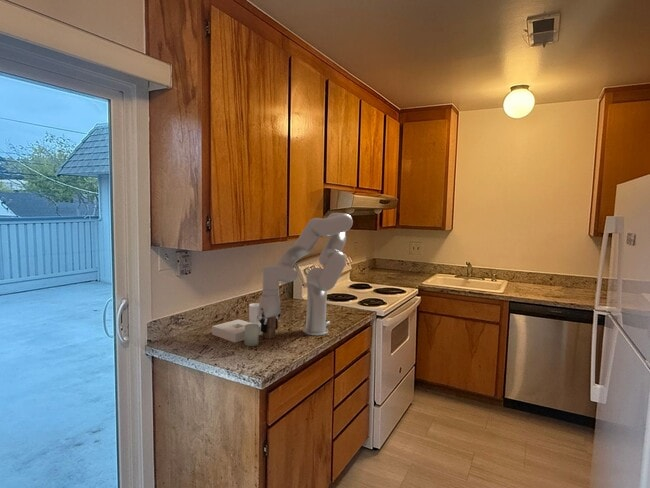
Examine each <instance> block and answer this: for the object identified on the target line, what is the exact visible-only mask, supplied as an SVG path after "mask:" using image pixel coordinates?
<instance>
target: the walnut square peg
mask: <svg viewBox="0 0 650 488" xmlns="http://www.w3.org/2000/svg"><path fill="white" fill-rule="evenodd" d="M264 320H265V318H264ZM266 324H267V332H266V333H264V332H262V338H266V339H272V338H275V337H276V331H277V329H276V316H273V317H269V318H268V319H267V322H266Z"/></svg>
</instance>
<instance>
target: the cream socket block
mask: <svg viewBox="0 0 650 488" xmlns="http://www.w3.org/2000/svg"><path fill="white" fill-rule="evenodd" d="M247 324H253V323H250V321H245V320H242V319H238V318H237V319H235V320H231V321H228V322H227V321H226V322H223V323H222V322H221V323H220V324H219V323H218V324H215V325H212V327H211V335H213V336H215V337H218V338H221V339H224V340H226V341H229V342H232V343H239V342H241V341H244V339H245V325H247ZM260 335H263V332H261V325H259V336H260Z"/></svg>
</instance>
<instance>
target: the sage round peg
mask: <svg viewBox="0 0 650 488" xmlns="http://www.w3.org/2000/svg"><path fill="white" fill-rule="evenodd" d="M259 337H260V335H259V325H257V324H247V325H245V339H244V340H243V341H244V342H243V344H244V346H247V347H256V346H258V345H259Z"/></svg>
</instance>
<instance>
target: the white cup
mask: <svg viewBox="0 0 650 488" xmlns="http://www.w3.org/2000/svg"><path fill="white" fill-rule="evenodd" d="M259 303H260V302H253V303H249V305H248V316H249V318H248V319H249V322H250V323H253V324H257V325H260V326H261V323H260V322H259V320H258V319H257V315H258V314H259Z"/></svg>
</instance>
